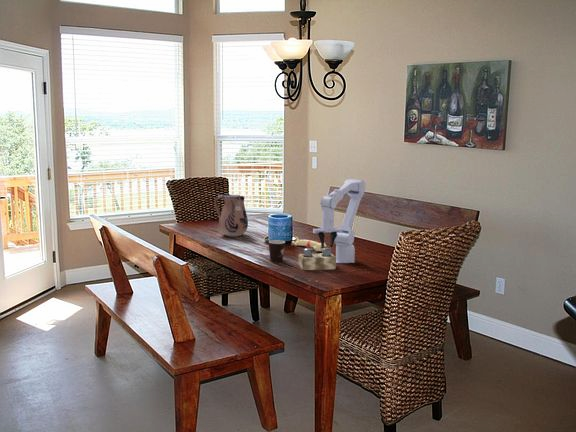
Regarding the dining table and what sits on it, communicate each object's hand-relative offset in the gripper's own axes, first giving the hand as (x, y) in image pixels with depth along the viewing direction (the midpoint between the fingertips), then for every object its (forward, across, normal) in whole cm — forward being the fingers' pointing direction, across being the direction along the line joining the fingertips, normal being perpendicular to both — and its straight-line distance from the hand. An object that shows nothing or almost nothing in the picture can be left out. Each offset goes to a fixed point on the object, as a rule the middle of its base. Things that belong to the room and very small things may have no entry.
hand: (326, 246), depth 295 cm
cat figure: (+11, +2, +40) cm, 42 cm away
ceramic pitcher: (+10, -39, +80) cm, 90 cm away
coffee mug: (+11, -21, +16) cm, 29 cm away
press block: (+10, -5, 0) cm, 11 cm away
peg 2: (+7, 0, 0) cm, 7 cm away
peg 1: (+7, -10, 0) cm, 12 cm away
